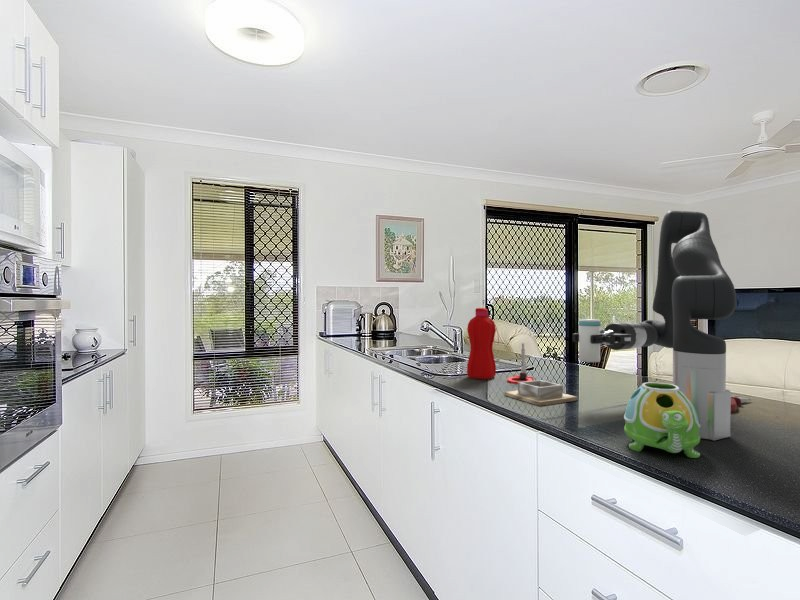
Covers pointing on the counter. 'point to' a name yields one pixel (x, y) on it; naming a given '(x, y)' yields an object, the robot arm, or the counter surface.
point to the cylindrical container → (588, 340)
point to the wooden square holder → (540, 393)
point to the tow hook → (523, 371)
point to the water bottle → (481, 346)
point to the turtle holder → (662, 419)
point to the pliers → (737, 402)
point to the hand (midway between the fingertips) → (582, 338)
